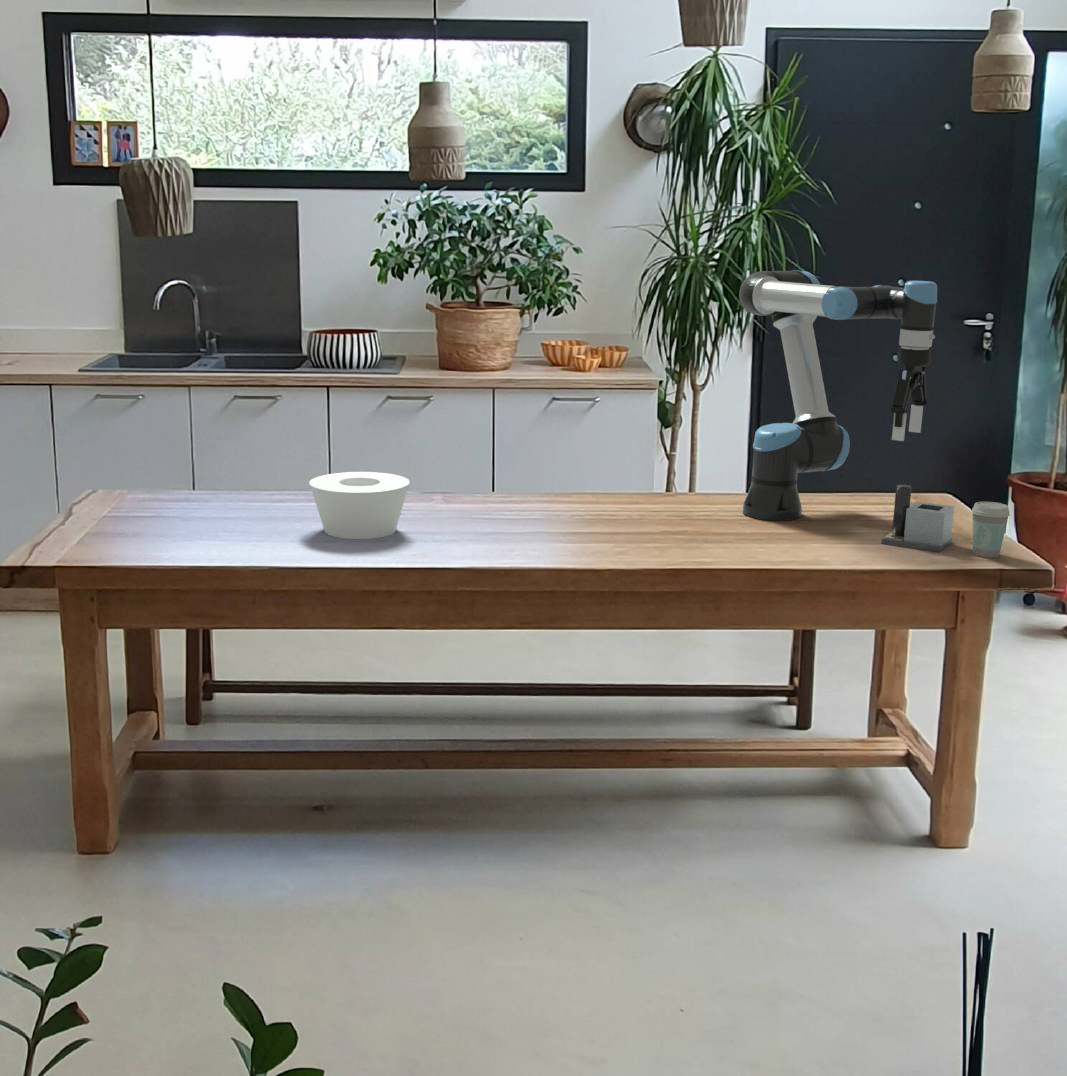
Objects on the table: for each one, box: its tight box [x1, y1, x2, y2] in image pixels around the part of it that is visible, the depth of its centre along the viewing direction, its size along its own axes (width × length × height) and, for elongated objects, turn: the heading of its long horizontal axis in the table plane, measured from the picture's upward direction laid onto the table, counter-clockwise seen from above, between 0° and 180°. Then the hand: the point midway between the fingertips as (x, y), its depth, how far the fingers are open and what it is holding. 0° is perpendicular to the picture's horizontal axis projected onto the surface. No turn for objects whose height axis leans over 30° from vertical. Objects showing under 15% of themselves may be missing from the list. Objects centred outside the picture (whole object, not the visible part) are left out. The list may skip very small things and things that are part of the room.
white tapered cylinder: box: [308, 471, 411, 540], centre depth 325 cm, size 24×24×12 cm
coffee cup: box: [970, 501, 1011, 559], centre depth 315 cm, size 8×9×12 cm
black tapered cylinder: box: [891, 484, 913, 536], centre depth 326 cm, size 4×4×12 cm
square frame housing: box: [881, 501, 955, 553], centre depth 325 cm, size 14×11×9 cm
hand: (906, 436), depth 324 cm, fingers open, 13 cm apart
